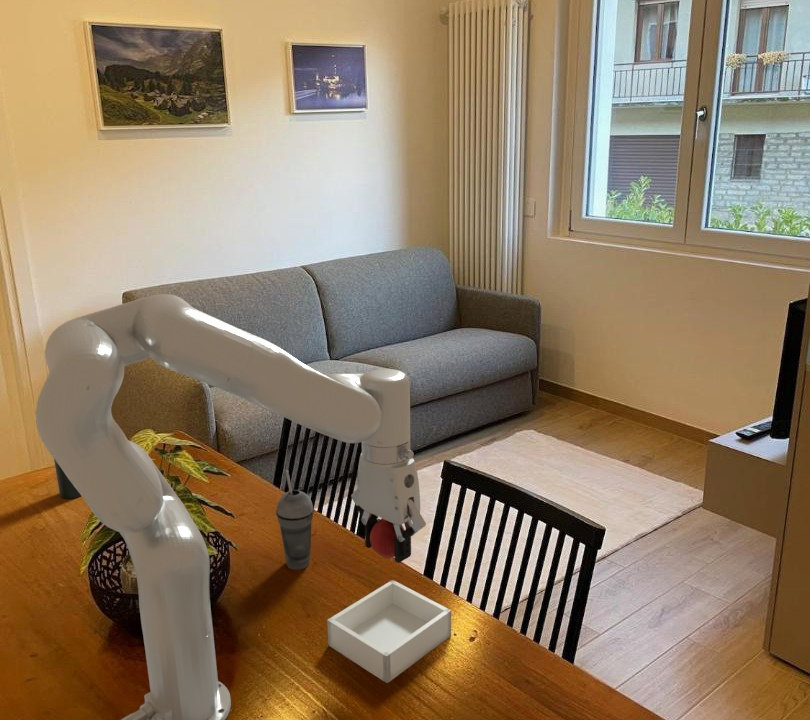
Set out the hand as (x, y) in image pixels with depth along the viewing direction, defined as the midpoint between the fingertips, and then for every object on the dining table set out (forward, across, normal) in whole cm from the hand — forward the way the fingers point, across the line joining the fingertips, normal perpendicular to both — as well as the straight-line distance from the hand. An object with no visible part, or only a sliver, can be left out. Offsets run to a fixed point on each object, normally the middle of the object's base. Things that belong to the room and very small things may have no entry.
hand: (387, 550), depth 126 cm
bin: (+17, 0, 0) cm, 17 cm away
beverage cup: (+17, +30, -5) cm, 35 cm away
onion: (+2, 0, 0) cm, 2 cm away
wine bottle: (+17, +93, +11) cm, 95 cm away
